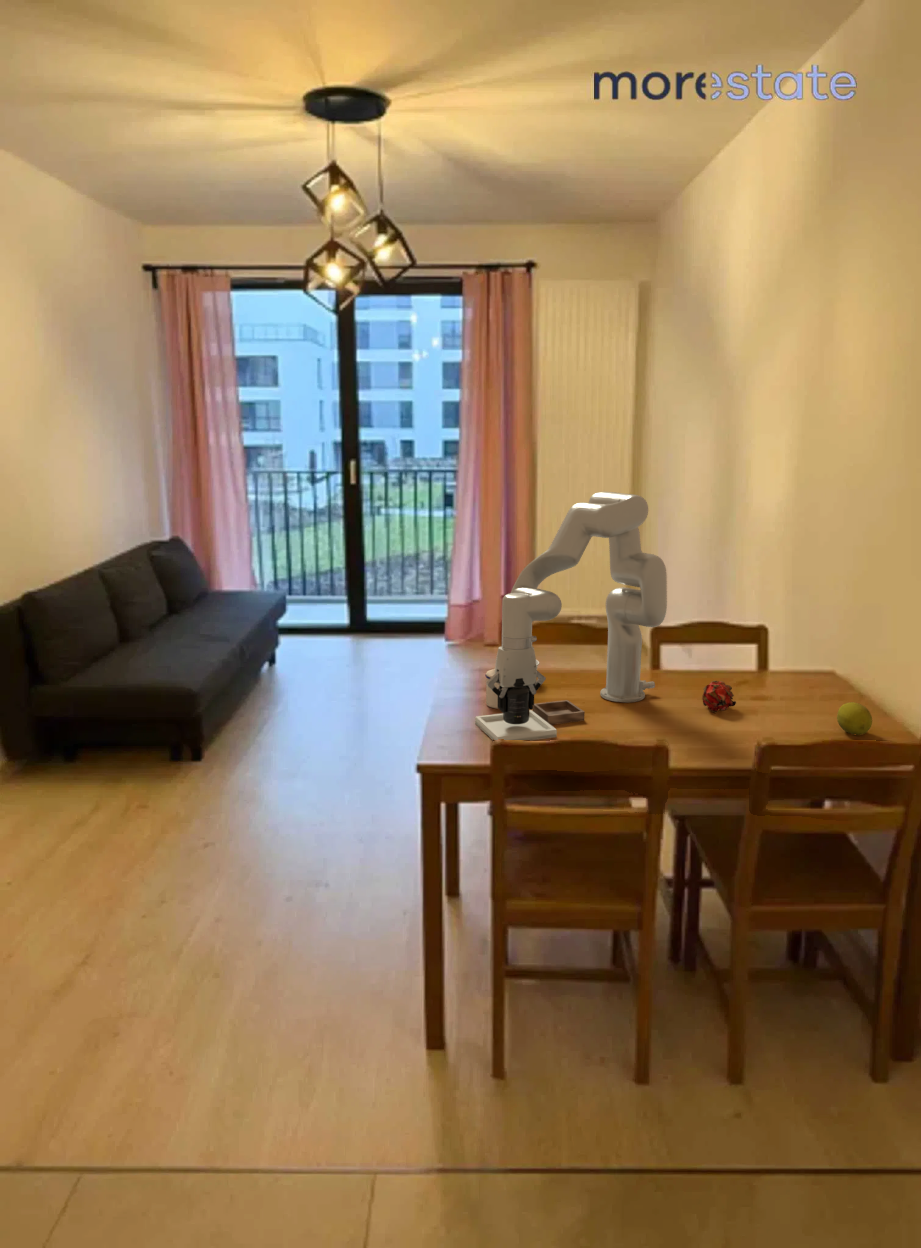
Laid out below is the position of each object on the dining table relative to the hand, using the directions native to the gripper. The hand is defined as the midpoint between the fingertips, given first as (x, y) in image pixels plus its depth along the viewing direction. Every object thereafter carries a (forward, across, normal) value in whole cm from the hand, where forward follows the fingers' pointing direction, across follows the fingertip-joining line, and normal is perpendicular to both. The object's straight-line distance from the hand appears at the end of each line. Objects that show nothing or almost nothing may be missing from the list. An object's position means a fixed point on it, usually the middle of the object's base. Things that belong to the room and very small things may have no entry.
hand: (515, 709), depth 234 cm
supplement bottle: (+3, 0, 0) cm, 3 cm away
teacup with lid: (+6, -5, -22) cm, 23 cm away
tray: (+6, 0, 0) cm, 6 cm away
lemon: (+6, -81, +30) cm, 87 cm away
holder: (+6, -15, -6) cm, 17 cm away
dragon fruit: (+6, -59, +3) cm, 59 cm away
